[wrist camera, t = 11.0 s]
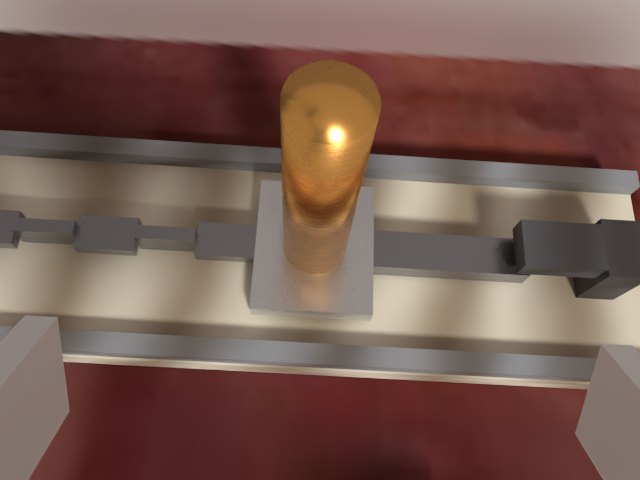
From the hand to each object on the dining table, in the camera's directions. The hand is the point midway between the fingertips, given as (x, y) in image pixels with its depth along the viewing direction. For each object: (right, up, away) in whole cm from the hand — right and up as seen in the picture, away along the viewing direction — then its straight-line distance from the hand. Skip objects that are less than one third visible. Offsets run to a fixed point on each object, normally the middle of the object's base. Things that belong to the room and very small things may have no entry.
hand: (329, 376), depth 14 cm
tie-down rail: (-7, +2, +18) cm, 19 cm away
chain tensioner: (-6, +3, +16) cm, 17 cm away
